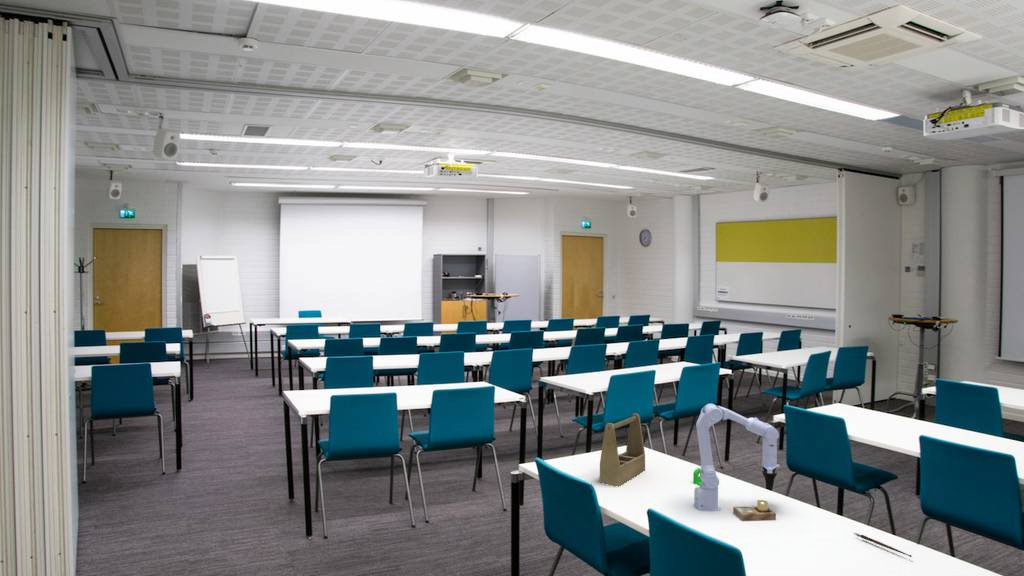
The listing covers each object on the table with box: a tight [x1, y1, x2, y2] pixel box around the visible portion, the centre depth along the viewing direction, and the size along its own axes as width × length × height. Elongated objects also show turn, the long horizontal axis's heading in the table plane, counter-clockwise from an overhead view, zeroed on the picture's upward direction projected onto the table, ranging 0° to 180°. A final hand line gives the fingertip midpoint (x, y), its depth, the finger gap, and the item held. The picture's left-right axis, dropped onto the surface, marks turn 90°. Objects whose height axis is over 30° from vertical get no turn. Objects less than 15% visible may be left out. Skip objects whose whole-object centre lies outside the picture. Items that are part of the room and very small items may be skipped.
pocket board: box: [732, 505, 777, 522], centre depth 273 cm, size 14×9×3 cm, turn 94°
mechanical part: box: [692, 467, 702, 487], centre depth 315 cm, size 12×6×8 cm, turn 116°
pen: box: [853, 532, 913, 558], centre depth 243 cm, size 1×1×23 cm
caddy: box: [599, 413, 646, 488], centre depth 325 cm, size 29×11×30 cm, turn 144°
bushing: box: [756, 499, 769, 513], centre depth 274 cm, size 4×4×6 cm
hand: (769, 485), depth 282 cm, fingers open, 7 cm apart
